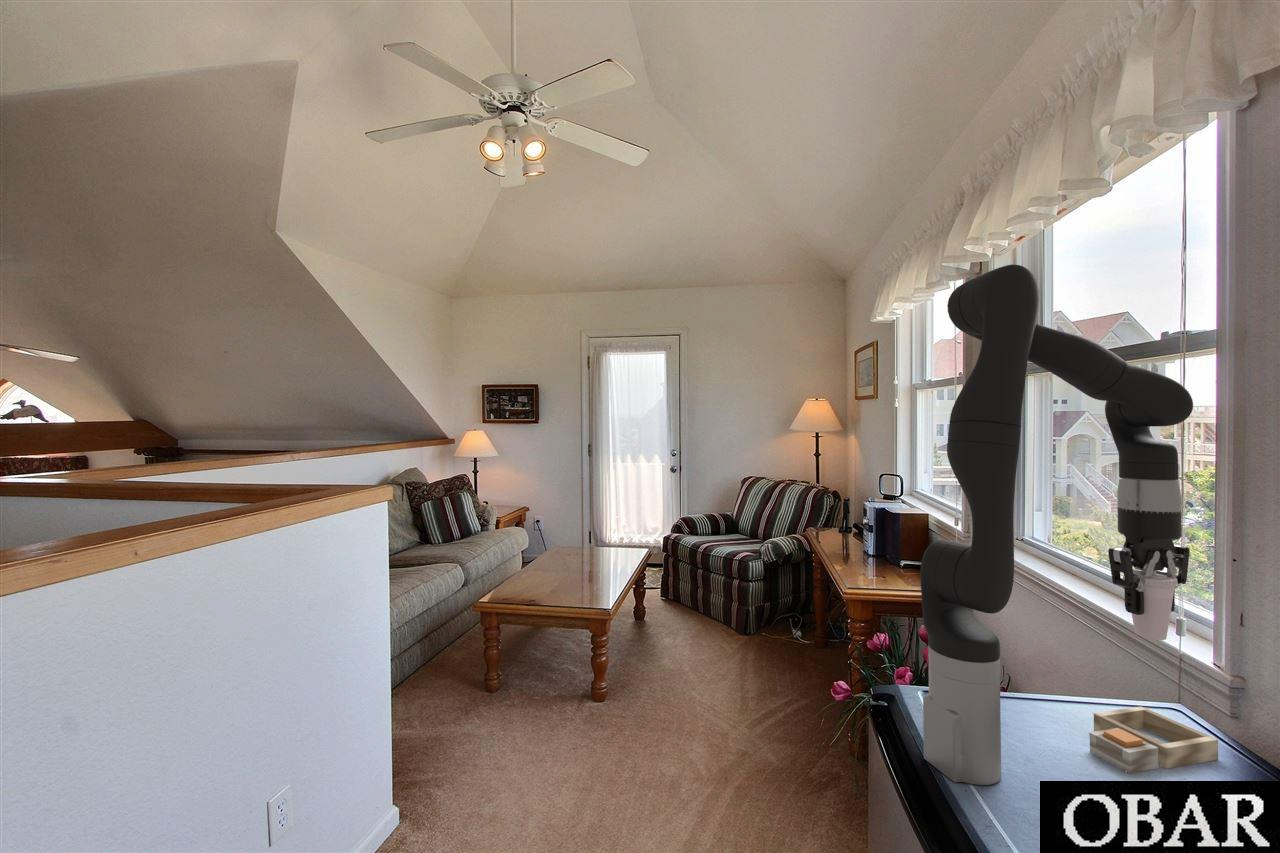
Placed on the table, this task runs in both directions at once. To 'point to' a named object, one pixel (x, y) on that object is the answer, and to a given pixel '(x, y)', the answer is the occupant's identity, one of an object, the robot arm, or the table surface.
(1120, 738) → the button
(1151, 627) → the smoothie
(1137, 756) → the station
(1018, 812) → the table surface
